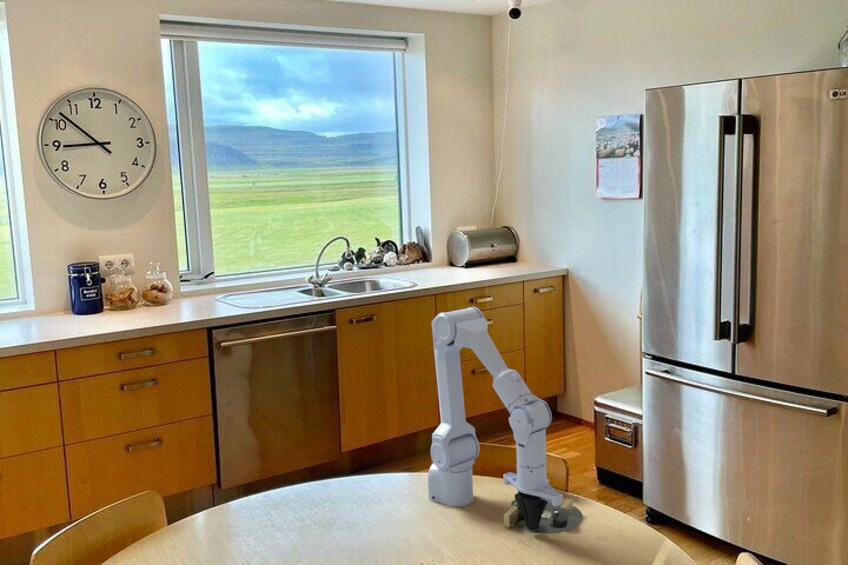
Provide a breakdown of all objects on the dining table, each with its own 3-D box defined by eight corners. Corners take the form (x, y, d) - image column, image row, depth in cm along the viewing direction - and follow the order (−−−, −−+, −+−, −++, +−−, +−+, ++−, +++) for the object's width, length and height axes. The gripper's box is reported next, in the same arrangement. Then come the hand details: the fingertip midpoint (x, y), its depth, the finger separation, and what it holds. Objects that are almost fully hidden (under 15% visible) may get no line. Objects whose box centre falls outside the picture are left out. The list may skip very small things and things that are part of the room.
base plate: (492, 529, 156) (492, 522, 156) (522, 498, 170) (522, 492, 169) (568, 545, 148) (567, 538, 148) (592, 512, 162) (592, 505, 161)
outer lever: (564, 528, 152) (564, 515, 152) (550, 525, 154) (550, 512, 153) (577, 512, 159) (576, 500, 158) (563, 510, 160) (563, 497, 160)
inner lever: (514, 511, 161) (514, 498, 160) (528, 513, 159) (527, 501, 159) (499, 526, 154) (499, 513, 154) (513, 529, 153) (513, 516, 152)
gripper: (573, 467, 145) (574, 535, 147) (520, 447, 157) (522, 510, 159) (547, 477, 141) (548, 546, 143) (494, 456, 153) (496, 520, 155)
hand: (532, 528), depth 151 cm, fingers closed
